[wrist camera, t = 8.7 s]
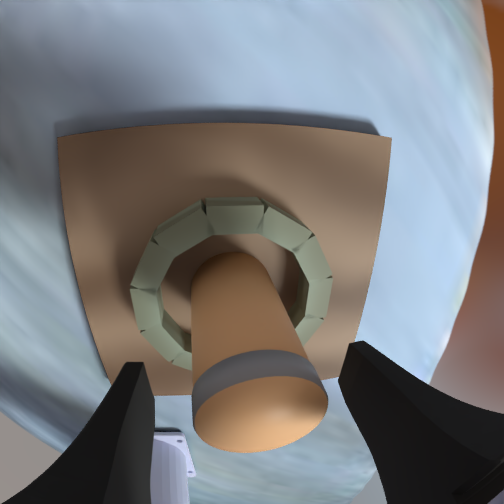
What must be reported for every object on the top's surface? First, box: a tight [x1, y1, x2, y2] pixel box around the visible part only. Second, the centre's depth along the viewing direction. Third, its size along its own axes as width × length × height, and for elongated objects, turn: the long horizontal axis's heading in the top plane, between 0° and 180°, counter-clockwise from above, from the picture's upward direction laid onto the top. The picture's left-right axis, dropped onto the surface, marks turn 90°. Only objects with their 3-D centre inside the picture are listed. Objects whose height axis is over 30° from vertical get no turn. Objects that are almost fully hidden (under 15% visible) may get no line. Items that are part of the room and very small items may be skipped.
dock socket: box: [57, 123, 392, 396], centre depth 15 cm, size 16×16×2 cm
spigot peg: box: [191, 252, 328, 453], centre depth 11 cm, size 4×4×8 cm
